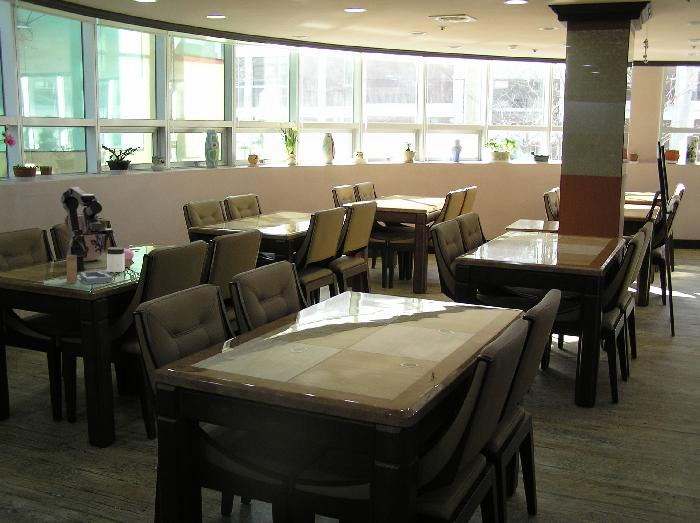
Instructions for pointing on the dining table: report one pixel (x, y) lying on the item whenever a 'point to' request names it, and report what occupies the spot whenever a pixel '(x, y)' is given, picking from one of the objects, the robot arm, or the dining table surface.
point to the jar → (115, 259)
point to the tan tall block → (71, 268)
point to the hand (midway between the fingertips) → (95, 250)
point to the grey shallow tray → (94, 277)
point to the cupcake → (128, 257)
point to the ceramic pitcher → (88, 240)
